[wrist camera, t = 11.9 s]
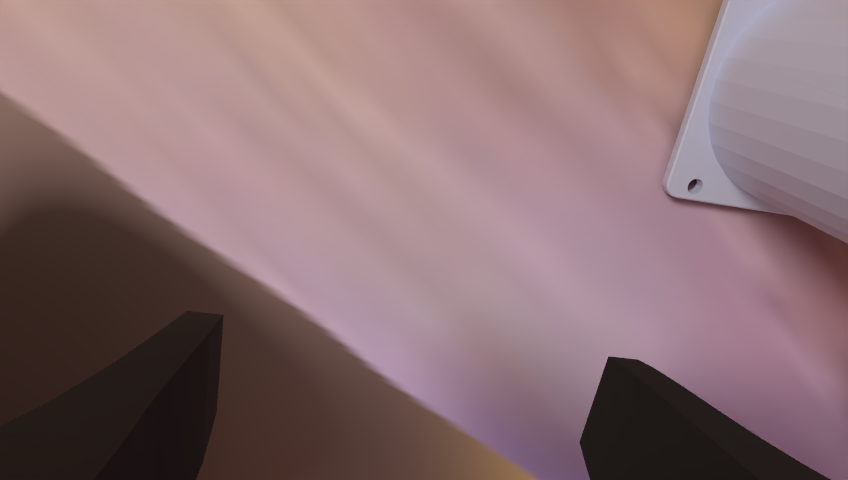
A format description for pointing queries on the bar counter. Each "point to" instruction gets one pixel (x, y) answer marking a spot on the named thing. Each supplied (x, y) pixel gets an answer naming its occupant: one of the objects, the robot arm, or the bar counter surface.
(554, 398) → the bar counter surface
